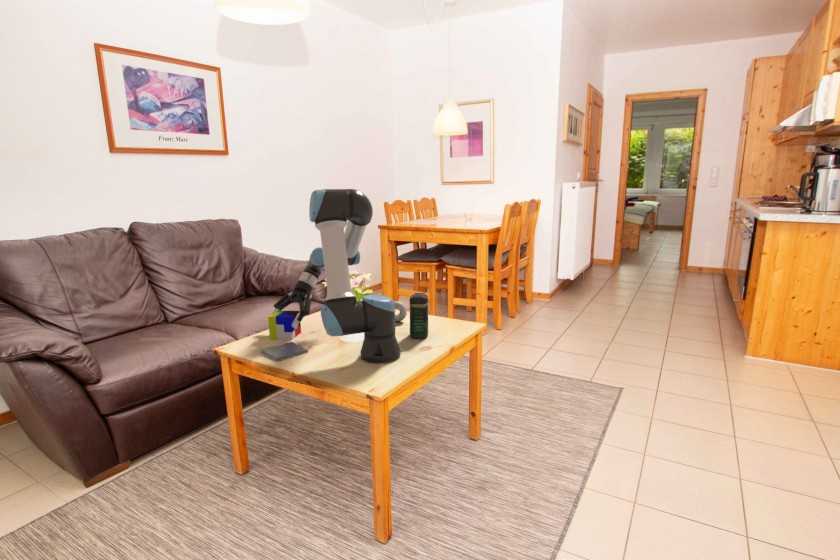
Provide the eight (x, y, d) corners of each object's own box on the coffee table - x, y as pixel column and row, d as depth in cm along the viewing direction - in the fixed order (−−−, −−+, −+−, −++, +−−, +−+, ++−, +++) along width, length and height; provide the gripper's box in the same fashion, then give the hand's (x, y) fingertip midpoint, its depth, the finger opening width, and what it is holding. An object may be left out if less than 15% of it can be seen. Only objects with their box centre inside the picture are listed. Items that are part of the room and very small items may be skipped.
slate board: (307, 352, 178) (307, 349, 177) (276, 361, 169) (276, 358, 169) (291, 344, 187) (291, 341, 187) (261, 352, 178) (261, 349, 178)
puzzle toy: (292, 339, 193) (290, 317, 191) (269, 339, 194) (268, 316, 192) (301, 332, 202) (299, 310, 200) (279, 332, 203) (278, 310, 201)
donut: (408, 321, 217) (407, 301, 215) (405, 323, 214) (404, 302, 212) (388, 319, 220) (388, 299, 218) (385, 321, 217) (385, 301, 215)
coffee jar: (427, 339, 191) (427, 296, 187) (408, 339, 191) (408, 296, 188) (429, 332, 200) (428, 291, 196) (411, 332, 201) (410, 291, 197)
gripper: (330, 292, 202) (308, 333, 192) (291, 286, 215) (268, 324, 205) (321, 282, 196) (297, 325, 187) (281, 277, 209) (257, 316, 200)
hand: (282, 325), depth 196 cm, fingers closed on puzzle toy, 13 cm apart
